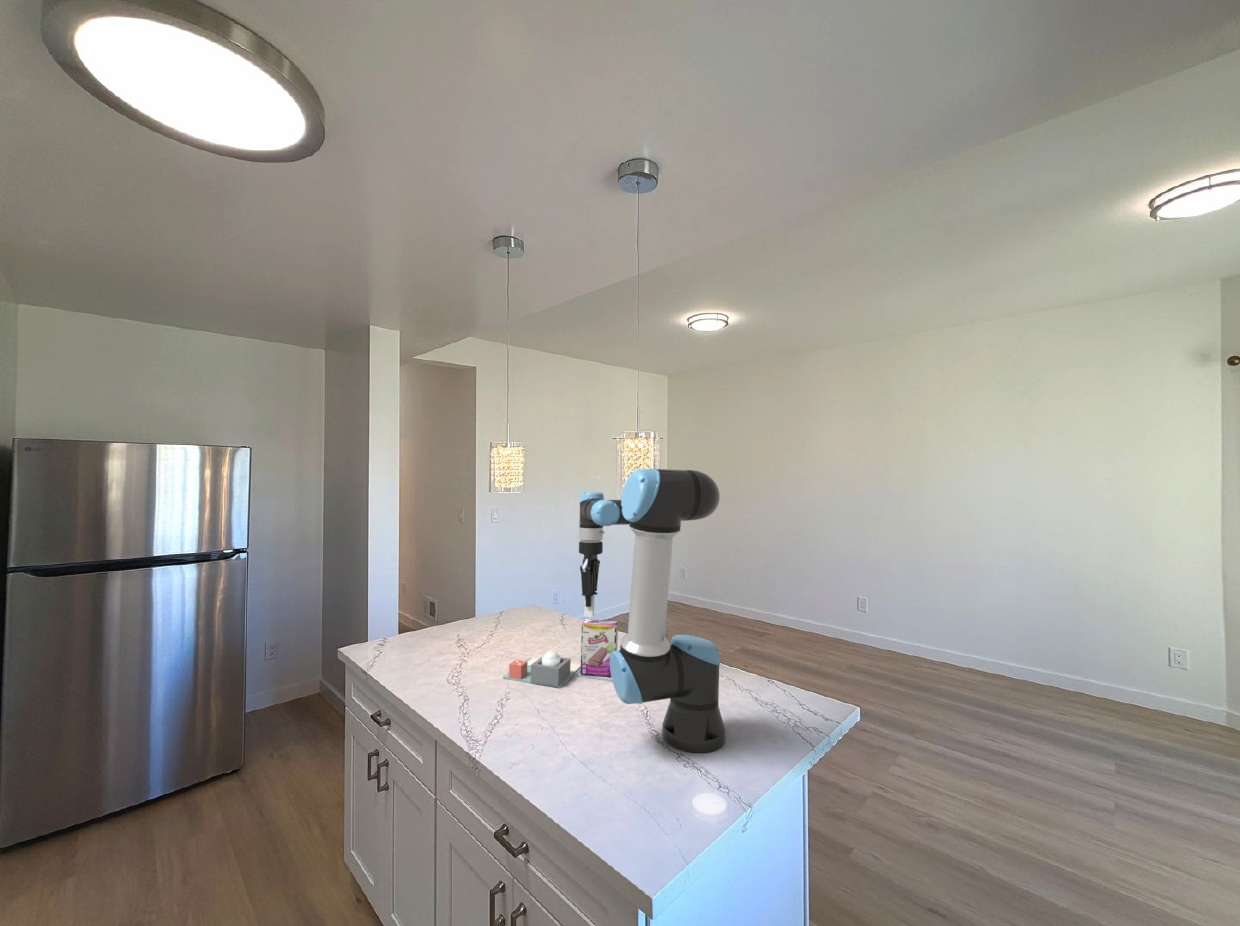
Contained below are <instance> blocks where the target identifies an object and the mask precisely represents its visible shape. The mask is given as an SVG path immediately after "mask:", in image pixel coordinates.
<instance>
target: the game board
mask: <svg viewBox="0 0 1240 926" xmlns="http://www.w3.org/2000/svg"><path fill="white" fill-rule="evenodd" d="M571 660H572V659H571V658H569V657H561V656H560V664H559V665H558V666H557V667H553V666H547V665H542V656H541V657H540V658H537V657H529V658H527V659H526V660H519V659H515V660H514V661H512V662H511V663H509V668H508V669H509V670H508V673H506V674H505V675H504V676H502V679H504V680H509V681H516V682H522V683H528V684H535V685H539V686H540V685H541V686H545V687H546V686H547V687H552V688H558V689H560V688H562V687H563V686H564V685H565V684H566V683H567V682H568V681H570V680H571V678H572V677H574V674H575V673H576V672H577V671H578V670H579V669H580V668H581V664H577V663H571Z"/></svg>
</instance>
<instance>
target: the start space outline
mask: <svg viewBox="0 0 1240 926" xmlns="http://www.w3.org/2000/svg"><path fill="white" fill-rule="evenodd" d="M580 673H581V668H580V669H579V670H578V671H577V672H576V673H575V674H574V675H573V677H581V678H587V679H593V680H601V681H607V682H612V683H613V681H612V679H610V678H602V677H598V676H592V675H581V674H580Z"/></svg>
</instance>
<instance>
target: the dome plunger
mask: <svg viewBox="0 0 1240 926" xmlns="http://www.w3.org/2000/svg"><path fill="white" fill-rule="evenodd" d="M541 657H542V665H547V666H553V667H557V666H558V665H559V664H560V657H561V655H560V654H558V652H556V651H555V650H548V651H546V652H545V653H544V654H543V655H542V656H541Z"/></svg>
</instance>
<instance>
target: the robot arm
mask: <svg viewBox="0 0 1240 926" xmlns="http://www.w3.org/2000/svg"><path fill="white" fill-rule="evenodd" d="M622 489H623V490H622V492H621V493H622V494H621V499H605V498H604V497H605V496H604V493H603V492H599V491H597V492H596V491H583V492H581V493H580V498H579V503H578V504H579V526H578V527H579V529H578V540H579V542H578V553H579V554H580V555H583V559H582V565H580V566H579V570H580V580H581V592H582V594H581V596H584V611H583V613H584V618H585V617H586V618H594V617H595V596H597V595H598V592H597V591H598V580H599V569H600V564H601V561H600V559H598V555H601V554H603V549H604V548H603V547H604V545H603V544H604V543H603V541H602V540H603V539H604V537H603V536H604V535H605V531H604V527H610V526H624V525H625V526H627V525H629V529H630V530H631V531H632V532H633V533H634V544H633V545H634V546H633V547H634V548H633V560H632V561H633V562H632V574H631V586H630V598H629V600H630V602H629V612H628V613H629V614H628V624H627V625H628V626H627V633H626V634H625V635H623V636H622V638H621V639H620V644H619V646H620V647H619V650H618V649H617V650H616V651H614V652H612V654H611V656H610V671H611V677H610V678H611V680H612V681H613V682H612V681H611V682H612V684H613V688H614V691H615V692H616V694H617V697H618V698H619V700H620V701H621V702H622V703H624V704H626V705H634V704H639V705H643V703H649V702H656V701H661V700H668V699H669V704H668V707H667V710H666V712H665V715H664V718H663V720H662V721H663V722H662V724H661V725H662V729H661V731H662V732H661V735H662V738H663V739H664V741H665V742H666V743H667V744H668V745H670V746H672V747H674V748H675V749H678V750H681V751H685V752H690V753H697V754H698V753H699V754H701V753H710V752H713V751H717V750H718V748H719V749H720V748H722V747H723V746H724V744H725V743H726V727H725V724H724V721H723V717H722V713H721V710H720V707H719V698H720V697H719V696H720V695H719V693H720V690H719V689H720V665H721V662H720V651H719V648H718V646H717V645H716V644H715V643H714V642H712V641H711V640H708V639H706V638H704V637H703V638H702V637H700V636H696V635H690V634H675V635H674V636H672V637H671V640H670V642H669V640H668V639H667V638H666V626H667V614H668V613H667V612H668V600H669V590H670V577H671V567H672V566H671V565H672V554H673V553H672V551H673V541H674V540H673V539H674V537H676V536H677V534H679V533H680V532H681V525H682V522H683V521H684V522H685V521H687V522H688V521H698V520H702V519H705V518H707V517H709V516H710V515H712V514H713V513H714V512H716V510H717V509H718V506H719V503H720V500H721V499H720V497H721V496H720V490H719V487H718V485H717V483H716V482H715V480H714V479H713V478H711V477H710V476H709V475H708V474H706V473H704V472H703V471H702V472H701V471H700V470H699V471H698V470H695V469H665V468H663V469H662V468H642V469H641V468H640V469H637V470H635V471H632V472H631V473H630V475H629V476H628V478H627V479H626V481H625V483H624V486H623V488H622ZM716 749H717V750H716Z"/></svg>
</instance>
